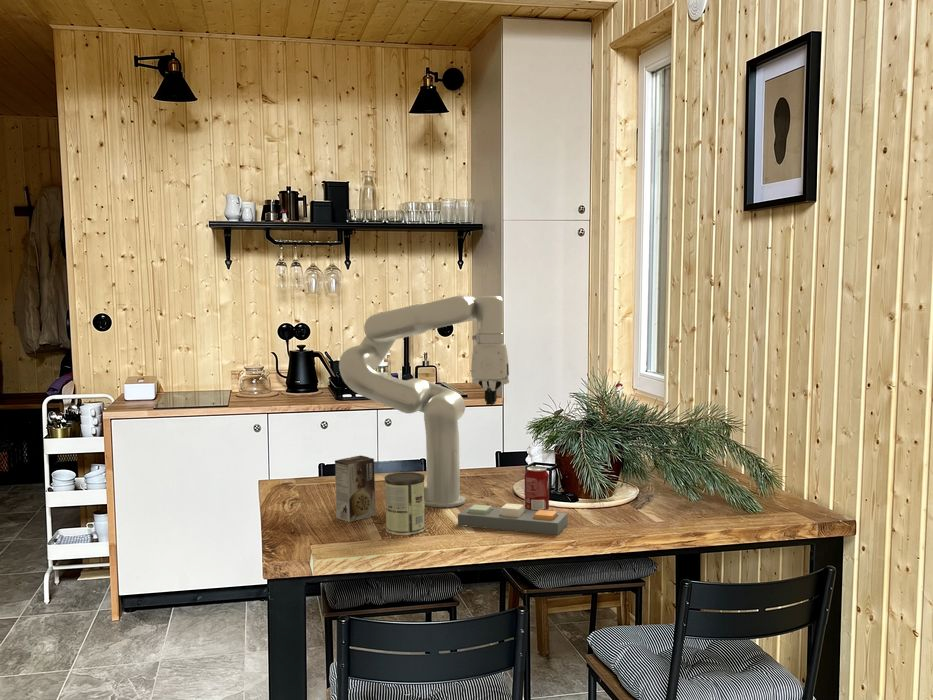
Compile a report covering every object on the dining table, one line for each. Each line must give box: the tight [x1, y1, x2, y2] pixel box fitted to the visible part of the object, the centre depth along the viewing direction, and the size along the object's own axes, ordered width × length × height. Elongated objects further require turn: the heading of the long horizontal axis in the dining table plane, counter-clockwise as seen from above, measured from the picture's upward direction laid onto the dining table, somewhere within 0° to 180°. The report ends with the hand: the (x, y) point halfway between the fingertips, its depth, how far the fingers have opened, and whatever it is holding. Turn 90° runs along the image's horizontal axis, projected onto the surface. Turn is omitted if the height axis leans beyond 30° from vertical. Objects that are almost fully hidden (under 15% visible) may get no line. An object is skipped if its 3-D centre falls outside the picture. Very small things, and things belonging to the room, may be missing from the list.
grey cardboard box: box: [334, 455, 377, 523], centre depth 241 cm, size 9×6×16 cm
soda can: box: [524, 465, 550, 511], centre depth 246 cm, size 7×7×12 cm
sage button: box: [469, 504, 493, 515], centre depth 235 cm, size 5×5×2 cm
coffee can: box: [384, 471, 426, 535], centre depth 228 cm, size 10×10×14 cm
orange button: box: [534, 510, 558, 520], centre depth 229 cm, size 5×5×2 cm
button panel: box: [457, 504, 568, 536], centre depth 232 cm, size 27×10×3 cm, turn 70°
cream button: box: [500, 502, 525, 517], centre depth 232 cm, size 5×5×2 cm
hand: (490, 404), depth 251 cm, fingers closed
